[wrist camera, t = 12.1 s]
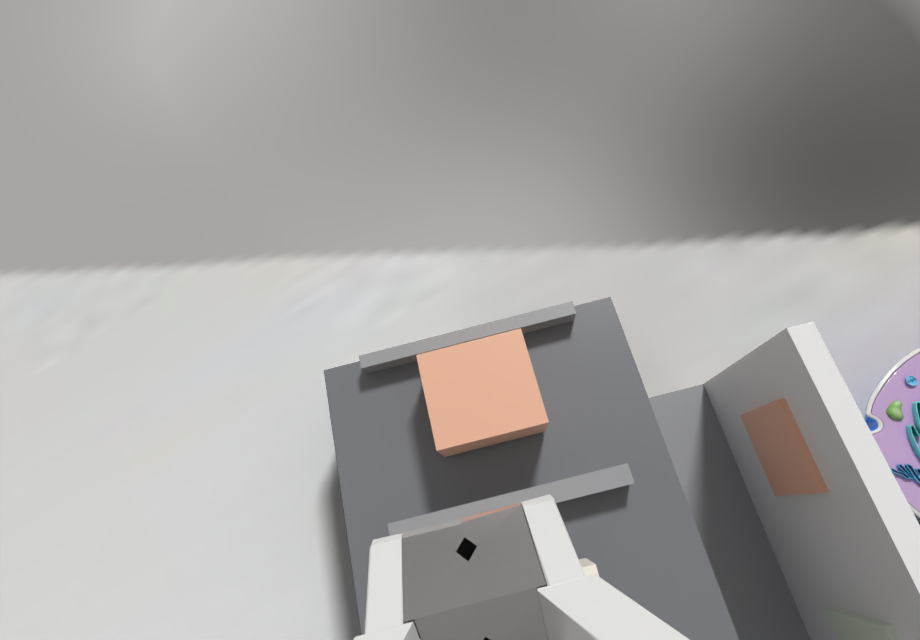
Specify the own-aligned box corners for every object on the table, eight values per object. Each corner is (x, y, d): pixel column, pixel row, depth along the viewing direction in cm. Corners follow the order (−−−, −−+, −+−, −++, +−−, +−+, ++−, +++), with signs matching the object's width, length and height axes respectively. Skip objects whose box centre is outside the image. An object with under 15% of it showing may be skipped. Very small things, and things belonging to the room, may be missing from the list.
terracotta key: (444, 457, 22) (436, 450, 20) (425, 370, 24) (416, 355, 22) (545, 431, 22) (549, 422, 20) (520, 346, 24) (520, 328, 21)
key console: (454, 969, 21) (406, 1327, 12) (359, 396, 30) (289, 345, 21) (916, 856, 21) (1236, 1129, 12) (684, 313, 30) (761, 223, 21)
